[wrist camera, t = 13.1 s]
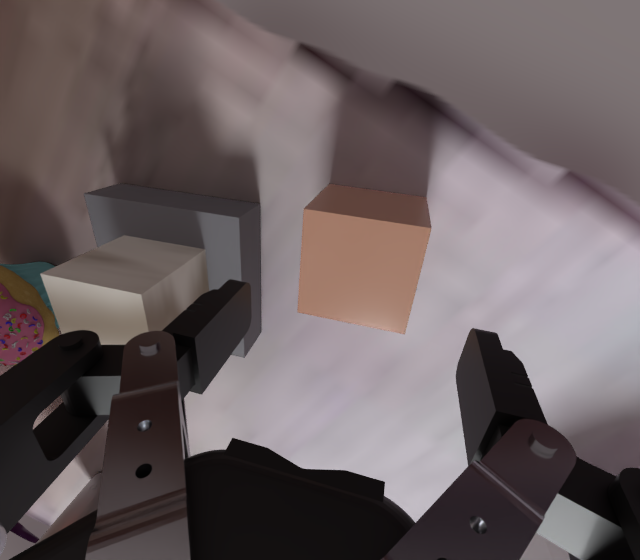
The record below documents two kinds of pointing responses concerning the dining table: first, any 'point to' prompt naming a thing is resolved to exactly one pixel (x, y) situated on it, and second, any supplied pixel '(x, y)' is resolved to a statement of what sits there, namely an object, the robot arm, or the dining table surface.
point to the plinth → (188, 233)
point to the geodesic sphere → (543, 550)
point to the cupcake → (24, 311)
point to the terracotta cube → (362, 256)
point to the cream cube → (126, 287)
